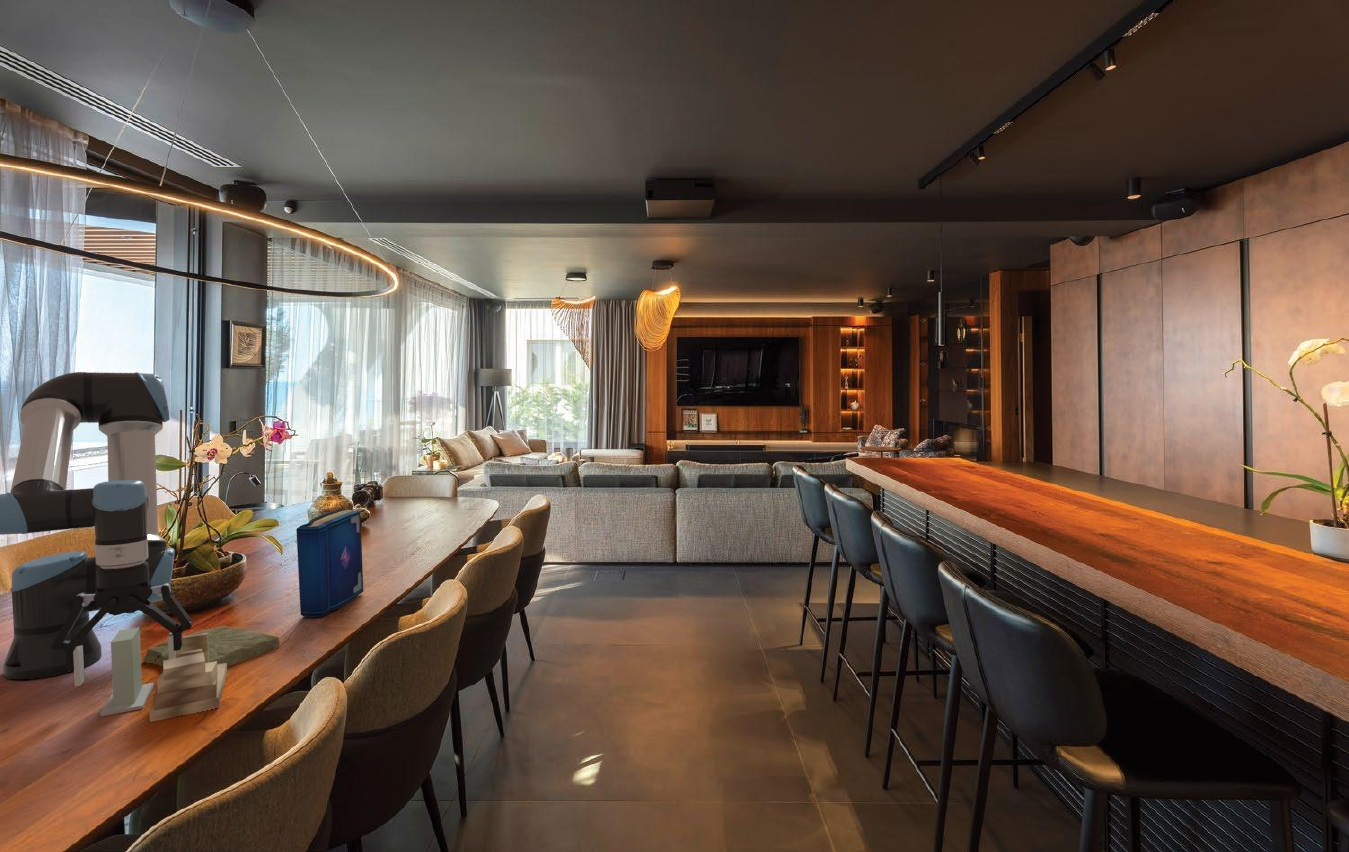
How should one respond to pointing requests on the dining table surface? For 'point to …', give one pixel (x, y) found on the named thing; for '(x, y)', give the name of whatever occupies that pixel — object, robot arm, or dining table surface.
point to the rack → (191, 647)
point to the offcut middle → (189, 679)
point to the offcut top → (183, 666)
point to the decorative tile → (223, 646)
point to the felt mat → (138, 704)
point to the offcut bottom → (184, 696)
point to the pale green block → (126, 666)
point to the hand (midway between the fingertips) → (127, 675)
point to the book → (329, 562)
